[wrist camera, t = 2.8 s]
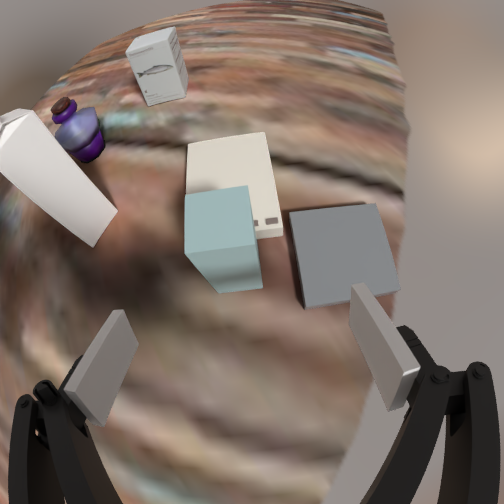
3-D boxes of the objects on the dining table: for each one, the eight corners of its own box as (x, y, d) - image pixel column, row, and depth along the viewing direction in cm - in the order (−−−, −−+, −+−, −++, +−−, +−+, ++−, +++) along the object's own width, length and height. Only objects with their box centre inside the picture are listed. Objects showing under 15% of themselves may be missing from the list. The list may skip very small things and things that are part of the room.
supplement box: (147, 108, 40) (123, 52, 29) (154, 87, 43) (134, 36, 31) (186, 98, 40) (167, 38, 28) (190, 78, 43) (175, 24, 31)
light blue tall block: (262, 288, 27) (255, 244, 17) (218, 293, 27) (184, 253, 17) (257, 245, 29) (247, 183, 18) (215, 251, 29) (184, 193, 19)
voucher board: (282, 235, 29) (283, 226, 27) (190, 248, 29) (184, 239, 27) (265, 142, 34) (264, 130, 32) (191, 153, 34) (187, 142, 32)
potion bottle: (118, 127, 39) (90, 77, 28) (106, 164, 36) (68, 111, 25) (81, 140, 40) (51, 96, 29) (67, 175, 36) (28, 131, 25)
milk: (95, 197, 34) (6, 88, 13) (119, 211, 32) (18, 85, 12) (71, 231, 32) (-33, 135, 12) (93, 249, 30) (-30, 142, 10)
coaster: (395, 293, 25) (400, 289, 24) (304, 309, 26) (306, 307, 24) (371, 210, 29) (375, 203, 28) (288, 219, 30) (289, 212, 28)
